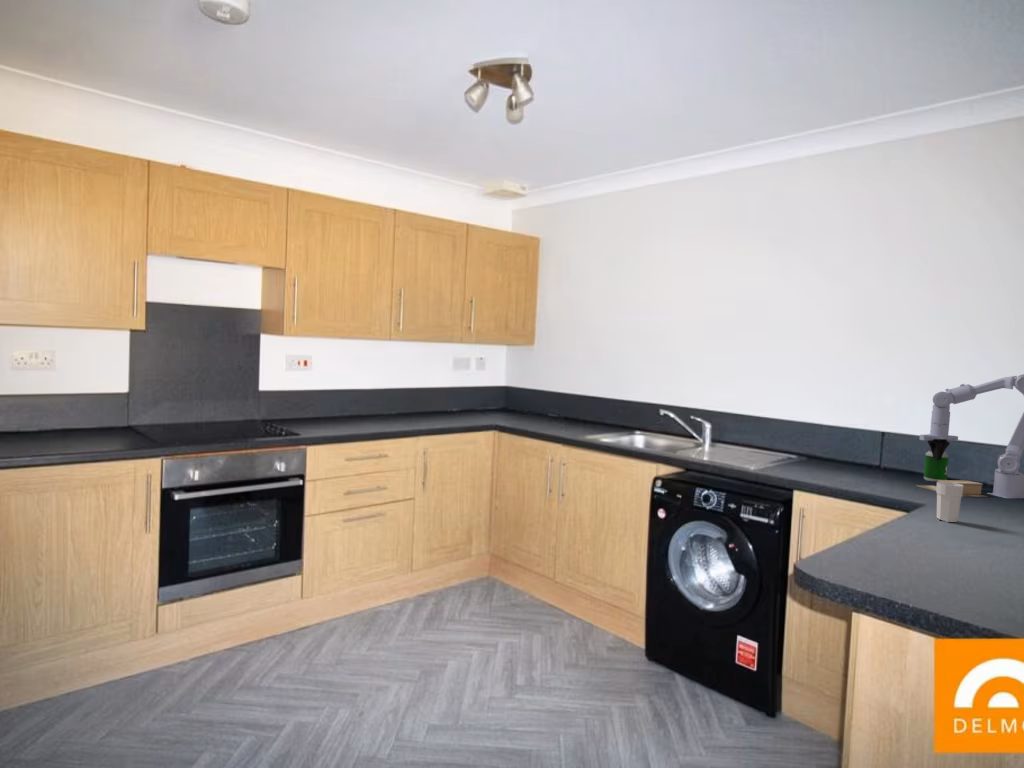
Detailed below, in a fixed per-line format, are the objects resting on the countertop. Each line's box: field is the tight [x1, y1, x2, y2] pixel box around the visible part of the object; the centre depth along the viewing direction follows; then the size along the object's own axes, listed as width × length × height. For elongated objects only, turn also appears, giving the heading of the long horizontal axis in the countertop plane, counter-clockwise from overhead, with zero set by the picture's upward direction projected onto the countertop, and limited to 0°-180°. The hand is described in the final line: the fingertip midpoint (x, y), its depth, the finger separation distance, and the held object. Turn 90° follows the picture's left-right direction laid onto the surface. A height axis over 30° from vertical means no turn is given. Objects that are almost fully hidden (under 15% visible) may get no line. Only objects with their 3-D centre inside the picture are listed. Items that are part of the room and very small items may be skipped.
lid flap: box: [938, 479, 984, 486], centre depth 233 cm, size 12×6×1 cm, turn 99°
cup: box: [936, 482, 964, 523], centre depth 192 cm, size 7×7×11 cm
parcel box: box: [938, 481, 983, 495], centre depth 233 cm, size 12×6×4 cm, turn 99°
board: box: [915, 484, 989, 498], centre depth 236 cm, size 14×17×1 cm
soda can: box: [923, 450, 949, 483], centre depth 256 cm, size 8×8×12 cm
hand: (936, 459), depth 244 cm, fingers closed
